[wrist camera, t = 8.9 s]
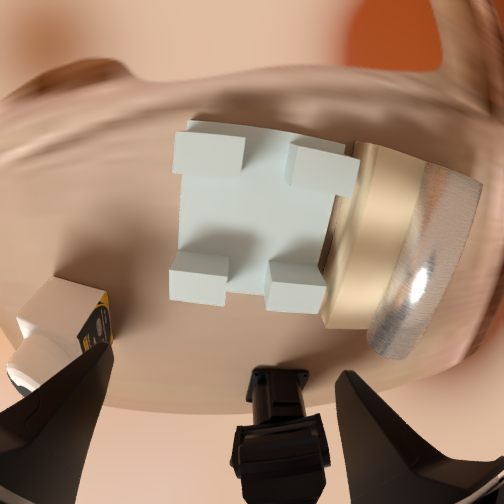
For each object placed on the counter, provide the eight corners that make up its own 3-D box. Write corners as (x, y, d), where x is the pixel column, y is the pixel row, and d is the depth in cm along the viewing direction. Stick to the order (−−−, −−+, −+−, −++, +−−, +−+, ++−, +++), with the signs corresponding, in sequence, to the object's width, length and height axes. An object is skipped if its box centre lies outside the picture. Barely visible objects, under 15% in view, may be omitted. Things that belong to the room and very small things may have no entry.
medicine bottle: (114, 341, 26) (77, 431, 15) (62, 325, 25) (17, 401, 14) (108, 290, 23) (50, 387, 12) (51, 274, 22) (-14, 351, 11)
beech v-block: (408, 304, 25) (426, 327, 21) (315, 299, 24) (325, 328, 20) (454, 175, 19) (482, 187, 15) (355, 140, 18) (379, 145, 14)
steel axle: (398, 324, 22) (419, 357, 18) (358, 325, 21) (378, 362, 17) (454, 173, 16) (493, 190, 12) (414, 157, 15) (456, 170, 11)
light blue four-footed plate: (305, 293, 24) (315, 321, 20) (179, 280, 23) (170, 307, 19) (341, 143, 18) (362, 148, 15) (190, 120, 17) (177, 118, 14)
